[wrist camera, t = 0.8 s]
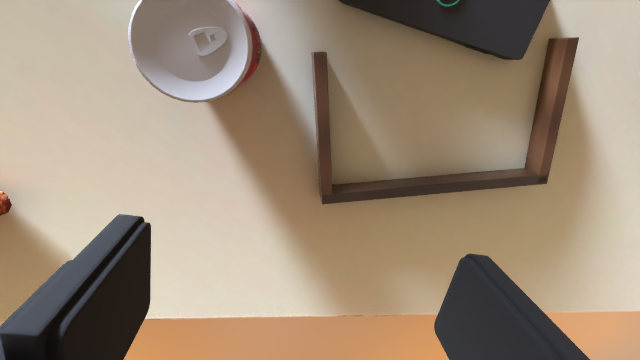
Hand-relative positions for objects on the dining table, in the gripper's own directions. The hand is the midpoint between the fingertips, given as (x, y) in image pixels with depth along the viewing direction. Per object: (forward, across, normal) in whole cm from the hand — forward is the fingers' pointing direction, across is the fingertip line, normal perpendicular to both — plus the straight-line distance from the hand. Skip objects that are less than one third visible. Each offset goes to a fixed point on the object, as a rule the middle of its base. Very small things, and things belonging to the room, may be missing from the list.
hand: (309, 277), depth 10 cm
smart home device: (+27, -13, -14) cm, 33 cm away
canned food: (+27, +8, -5) cm, 29 cm away
